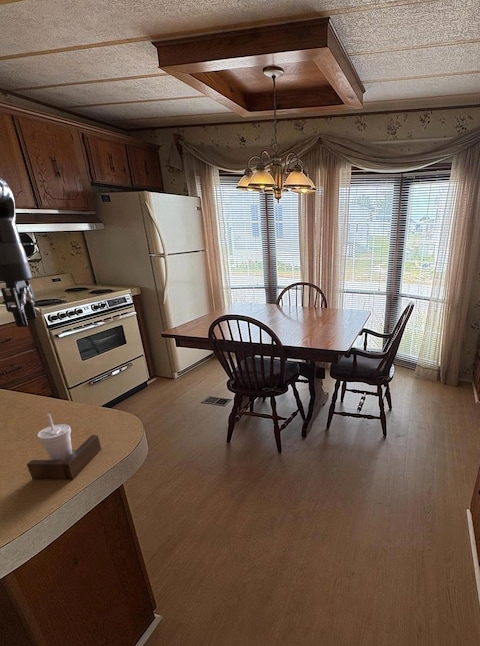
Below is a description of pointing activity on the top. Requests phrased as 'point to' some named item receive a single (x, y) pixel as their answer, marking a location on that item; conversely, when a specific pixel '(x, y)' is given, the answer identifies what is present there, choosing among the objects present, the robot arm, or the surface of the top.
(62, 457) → the smoothie
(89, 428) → the top surface
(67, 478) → the corner guide
